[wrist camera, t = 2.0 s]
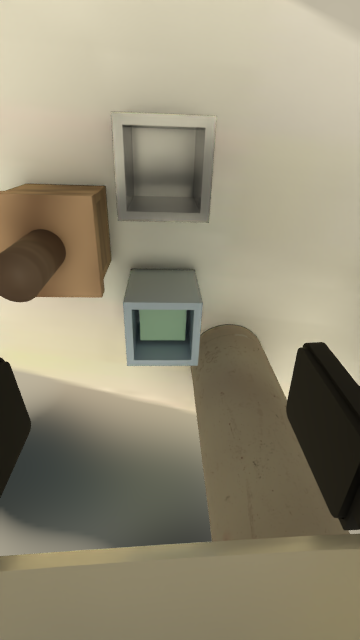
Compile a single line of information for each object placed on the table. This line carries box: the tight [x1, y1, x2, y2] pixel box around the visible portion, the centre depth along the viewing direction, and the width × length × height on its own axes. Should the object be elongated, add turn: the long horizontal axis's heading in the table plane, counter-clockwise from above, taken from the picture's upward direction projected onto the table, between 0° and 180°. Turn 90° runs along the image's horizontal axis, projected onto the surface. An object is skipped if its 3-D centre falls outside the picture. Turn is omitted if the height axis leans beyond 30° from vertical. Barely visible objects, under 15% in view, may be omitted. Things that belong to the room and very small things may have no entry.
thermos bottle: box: [191, 325, 350, 542], centre depth 23 cm, size 8×8×28 cm
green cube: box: [139, 310, 186, 340], centre depth 29 cm, size 4×4×4 cm
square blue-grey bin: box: [123, 269, 203, 366], centre depth 28 cm, size 6×6×7 cm
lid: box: [0, 191, 104, 302], centre depth 20 cm, size 7×7×6 cm
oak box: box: [6, 184, 111, 279], centre depth 25 cm, size 6×6×6 cm
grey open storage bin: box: [111, 112, 217, 223], centre depth 22 cm, size 6×6×7 cm
